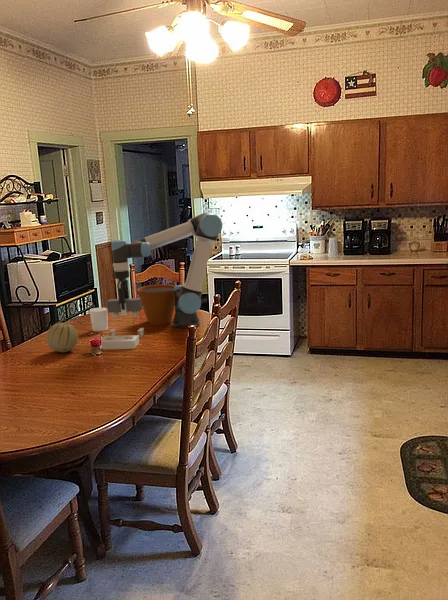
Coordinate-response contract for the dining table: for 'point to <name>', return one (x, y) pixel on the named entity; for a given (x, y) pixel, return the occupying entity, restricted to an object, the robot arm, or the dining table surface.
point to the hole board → (120, 342)
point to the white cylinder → (99, 319)
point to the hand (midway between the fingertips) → (125, 313)
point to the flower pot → (158, 303)
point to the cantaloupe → (62, 337)
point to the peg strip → (131, 306)
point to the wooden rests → (140, 332)
